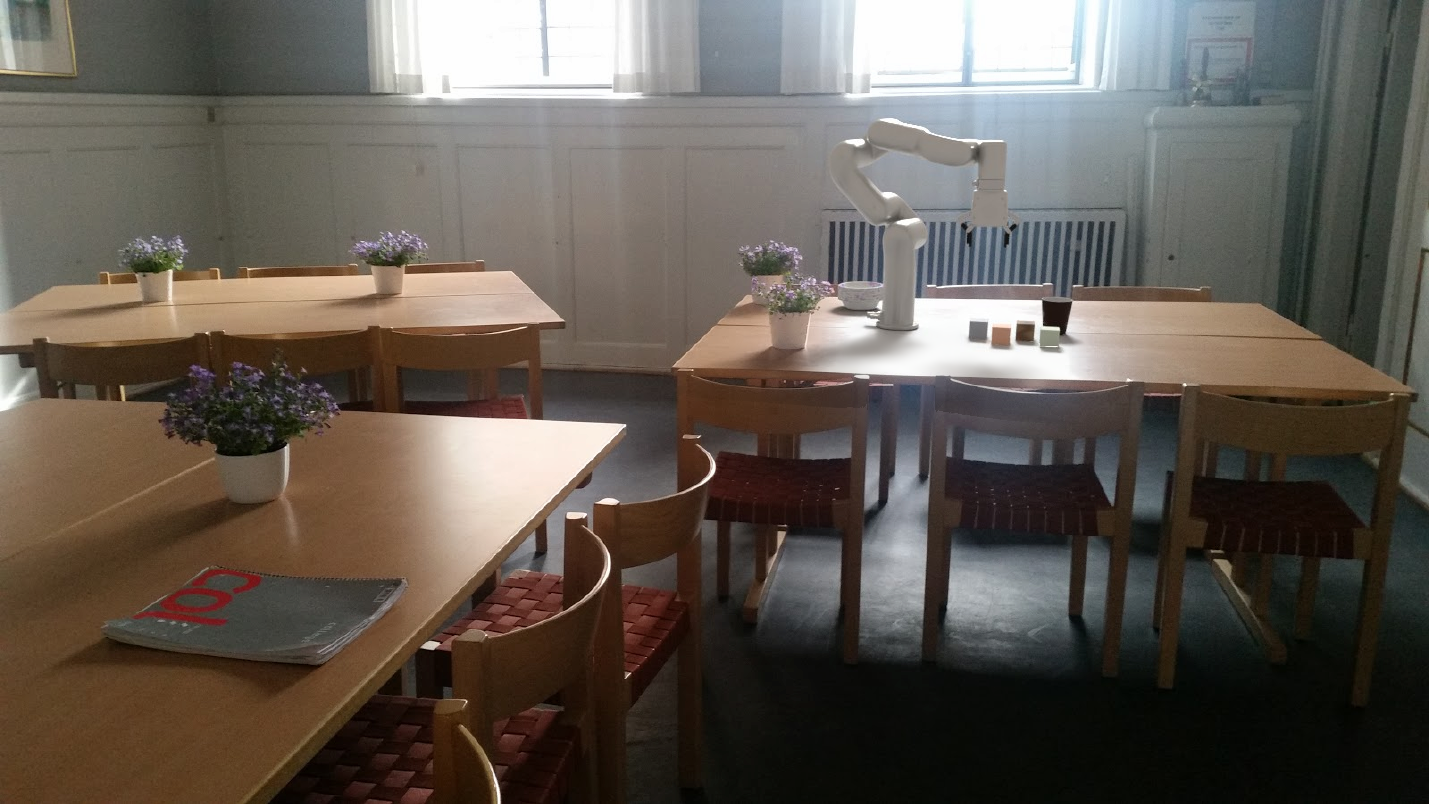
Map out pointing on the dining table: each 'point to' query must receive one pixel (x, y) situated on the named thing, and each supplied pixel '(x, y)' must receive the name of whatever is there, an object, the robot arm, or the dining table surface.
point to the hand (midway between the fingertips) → (987, 246)
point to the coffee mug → (1056, 312)
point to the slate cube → (978, 328)
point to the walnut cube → (1025, 330)
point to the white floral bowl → (860, 295)
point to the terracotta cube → (1001, 334)
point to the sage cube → (1049, 336)
